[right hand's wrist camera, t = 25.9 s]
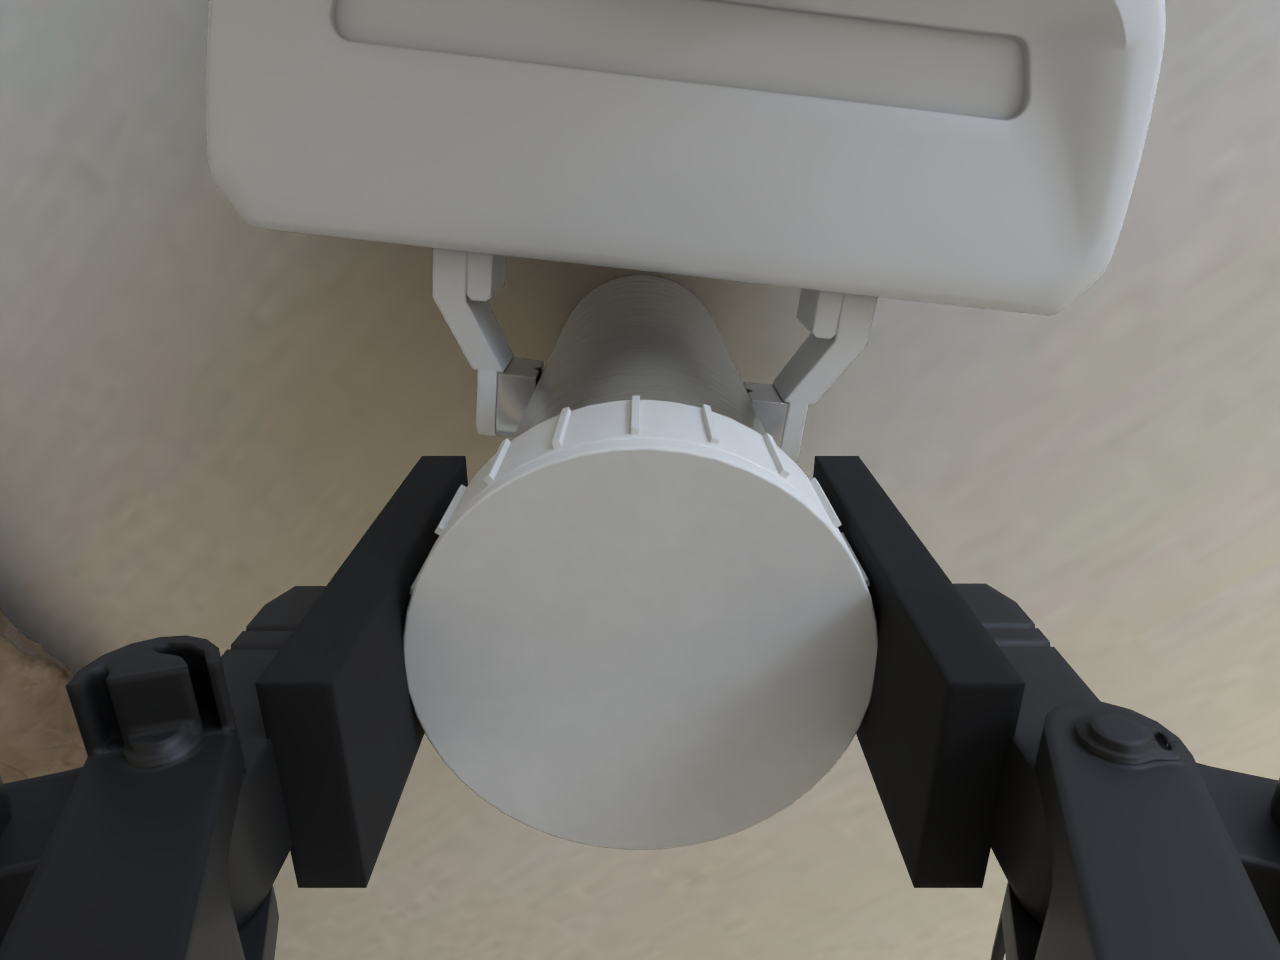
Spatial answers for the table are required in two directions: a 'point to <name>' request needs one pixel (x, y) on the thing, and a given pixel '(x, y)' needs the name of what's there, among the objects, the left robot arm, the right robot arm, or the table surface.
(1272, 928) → the right robot arm
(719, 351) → the grey cylinder
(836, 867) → the table surface
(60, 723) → the stone
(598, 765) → the lid
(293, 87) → the left robot arm
